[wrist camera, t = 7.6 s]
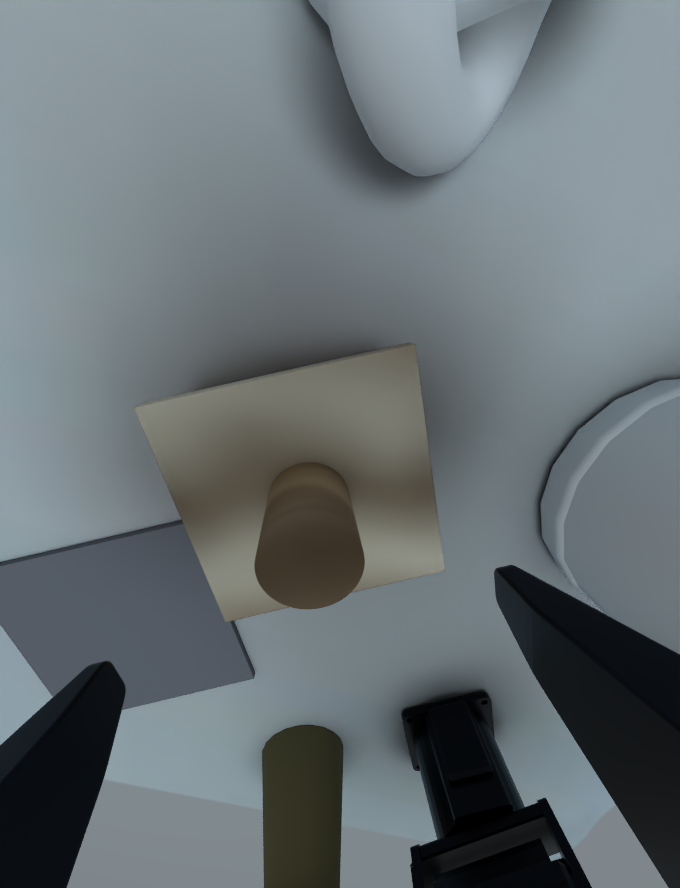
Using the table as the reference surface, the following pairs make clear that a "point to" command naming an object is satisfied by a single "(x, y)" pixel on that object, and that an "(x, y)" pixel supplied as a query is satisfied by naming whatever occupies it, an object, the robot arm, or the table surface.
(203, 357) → the table surface
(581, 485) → the bottle
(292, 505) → the lid
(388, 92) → the white decorative knot
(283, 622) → the table surface
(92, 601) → the mat
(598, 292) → the table surface
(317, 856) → the olive pestle
